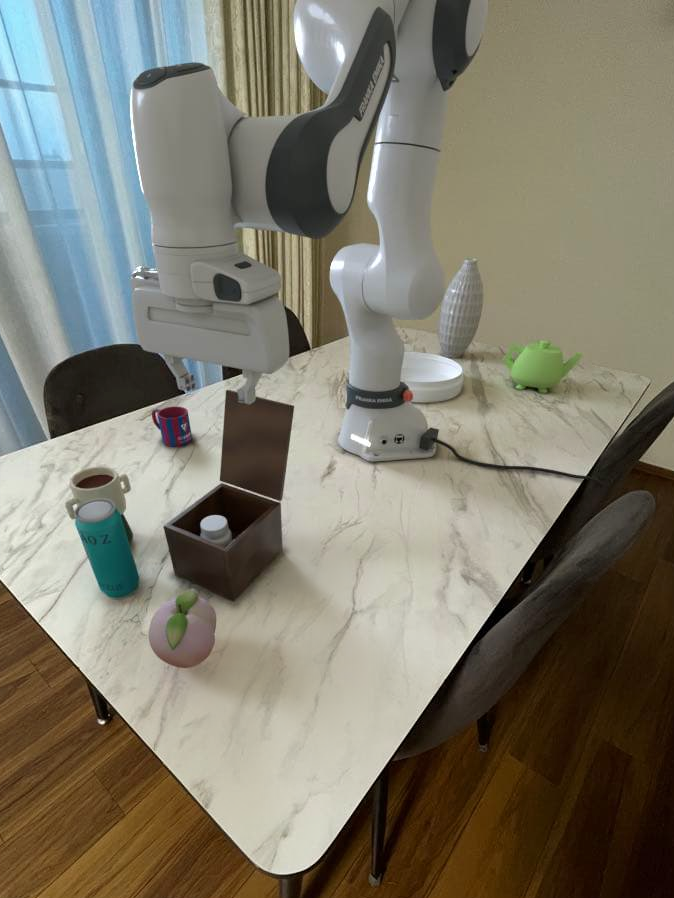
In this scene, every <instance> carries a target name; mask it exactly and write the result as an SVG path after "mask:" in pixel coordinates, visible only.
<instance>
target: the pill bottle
mask: <svg viewBox="0 0 674 898" xmlns="http://www.w3.org/2000/svg"><path fill="white" fill-rule="evenodd" d="M200 526H201V534H200V537H202V538H205V539H207V540H210V541H212V542H215V543H217V544H219V545H222V546H224V547H227V546H228V545H229V544H230V543H232V534H231V531H230V530H229V528H228V523H227V520H226V518H225V517H223V516H220V515H211V516H208V517H206V518H204V519H203V520H202V521H201V523H200Z"/></svg>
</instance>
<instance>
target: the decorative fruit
mask: <svg viewBox="0 0 674 898" xmlns="http://www.w3.org/2000/svg"><path fill="white" fill-rule="evenodd" d="M217 621H218V619H217V613H216V611H215V609H214V607H213V606H212V604H211V603H209V602H208V601H207V600H205V599H204V598H202V597H200V596H198V591H197V590H196V589H195V588H190V589H186V590H183V592H181V593H180V594H178V596H176V598H173V599H170V600H169V601H166V602H165V603H163V604H161V606H159V608H157V610H156V611H155V612H154V614H153V615H152V617H151V620H150V623H149V627H148V634H147V635H148V642H149V643H148V644H149V646H150V649H151V650H152V652H153V653H154V655H155V656H156V657H157V658H158V659H159V660H160V661H162V662H163V663H166V664H167V665H170V666H172V667H174V668H179V669H191V668H194V667H197V666H198V665H201V664H202V663H203V662H205V660H207V659H208V657H209V656H210V655H211V653H212V651H213V649H214V647H215V644H216V629H217Z"/></svg>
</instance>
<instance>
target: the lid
mask: <svg viewBox="0 0 674 898" xmlns="http://www.w3.org/2000/svg"><path fill="white" fill-rule="evenodd" d="M224 398H225V399H224V414H223V426H222V427H223V429H222V441H221V442H222V443H221V457H220V473H219V482H221V483H224V484H227V485H230V486H233V487H236V488H239V489H242V490H245V491H247V492H250V493H253V494H256V495H259V496H262V497H265V498H268V499H271V500H274V501H277V502H281V501H282V500H283V496H284V490H285V489H284V488H285V482H286V473H287V466H288V458H289V449H290V443H291V436H292V435H291V434H292V428H293V419H294V412H295V405H293V404H289V403H284V402H281V401H278V400H277V401H276V400H272V399H268V398H264V397H261V396H256V399H255V401H254V402H253V403H252V404H250V405H249V404H245V403H240V402H239V401H238V398H239V396H238V393H237V390H236V391H235V390H231V389H226V390H225V397H224Z"/></svg>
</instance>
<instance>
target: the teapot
mask: <svg viewBox="0 0 674 898" xmlns="http://www.w3.org/2000/svg"><path fill="white" fill-rule="evenodd" d="M515 351H516V352H518V354H517V356H516V358H515V359H514V360H513V358H512V357H513V354H514V352H515ZM582 358H583V354H582V353H578V352H576V353H575V354H574V355H573V356H572V357H570V359H568V360H566V362H564V357H563V351H562V348H561V347H560V346H558V345H554V344H552V342H551V341H550V340H546V339H543V340H542V339H541V340H540V341H539V342H530V343H527V344H526V345H525V346H522V345H520V344H519V345H518V344H515V343H511V344H510V346H509V348H508V350H507V351H506V354H505V355H504V357H503V359H502V362H503V364H504V365H505V366H506V367H507V369H509V371H510V376H511V379H512V381H513V382H514V383H516V384H517V385H516V386H515V388H516V389H518V390H525V389H526V387H531V388H536V389H538V390H537V392H539V393H543V394H544V393H545V394H546V393H548V389H550V388H553V387H555V386H557V384H559V382H560V381H561V380H562V379H563V378H565V377H566V376H567V375H568V373H570V372H571V370H572V369H573V368H574V366H575V365H576V364H577V363H578V362H579V361H580V360H581V359H582Z"/></svg>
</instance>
